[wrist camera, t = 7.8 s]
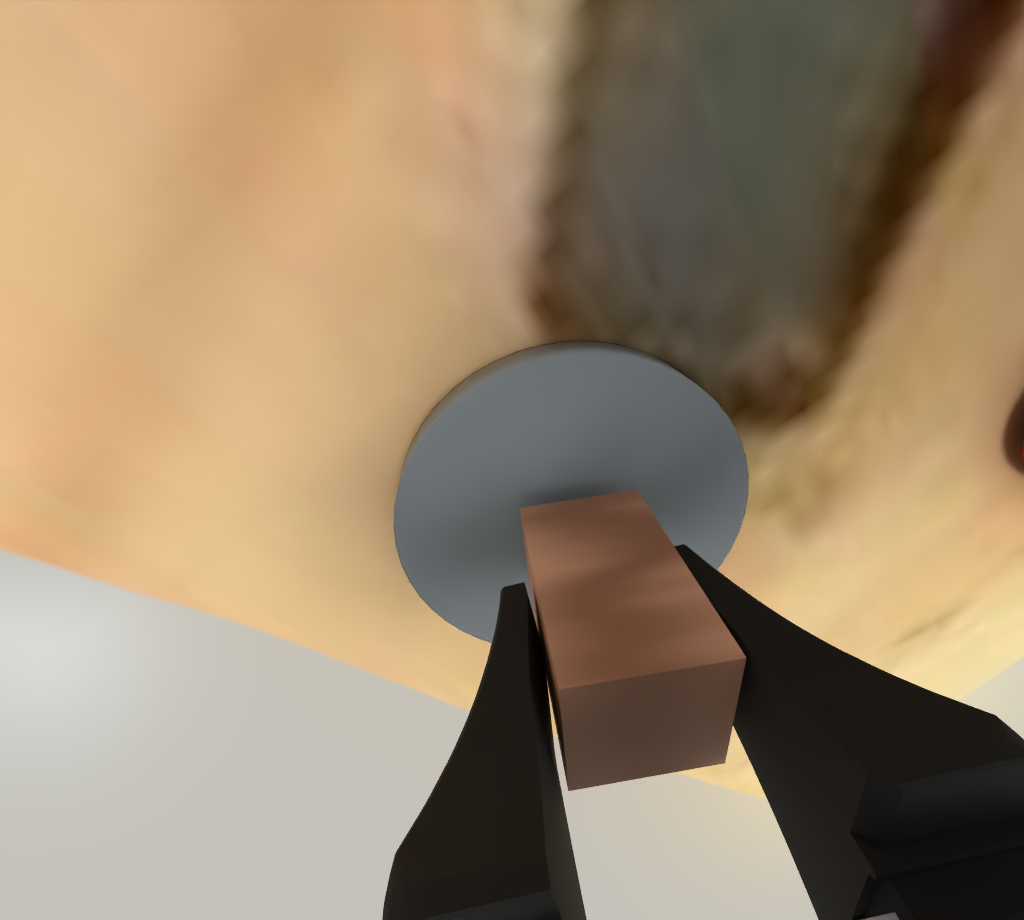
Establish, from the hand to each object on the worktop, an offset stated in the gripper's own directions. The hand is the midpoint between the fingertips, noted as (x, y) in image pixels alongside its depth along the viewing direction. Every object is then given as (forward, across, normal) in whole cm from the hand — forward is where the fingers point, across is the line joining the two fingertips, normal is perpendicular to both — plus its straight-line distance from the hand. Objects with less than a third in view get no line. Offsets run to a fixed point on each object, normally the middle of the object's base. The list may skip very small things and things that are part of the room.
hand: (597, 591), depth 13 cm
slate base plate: (+4, 0, 0) cm, 4 cm away
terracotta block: (+2, 0, 0) cm, 2 cm away
